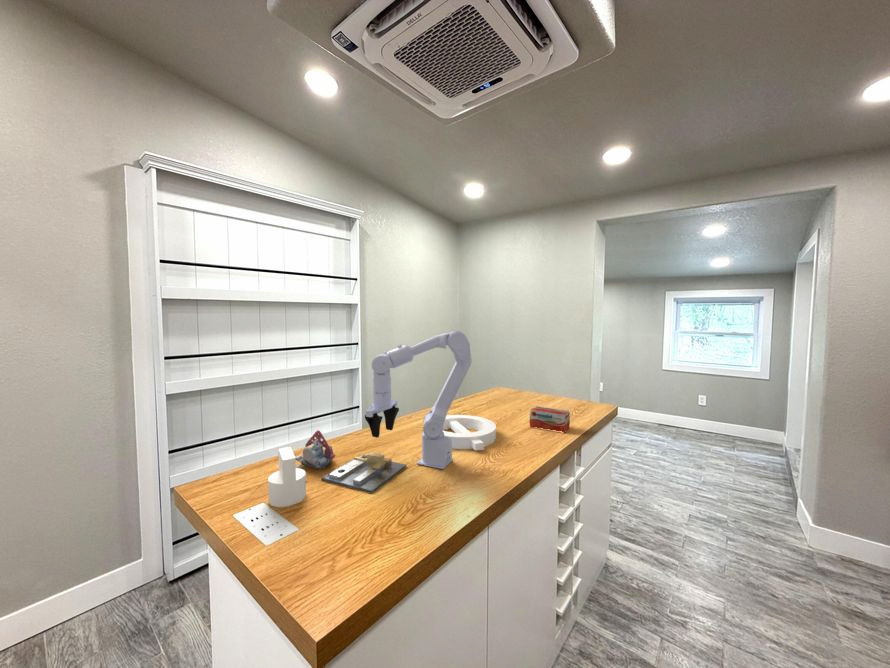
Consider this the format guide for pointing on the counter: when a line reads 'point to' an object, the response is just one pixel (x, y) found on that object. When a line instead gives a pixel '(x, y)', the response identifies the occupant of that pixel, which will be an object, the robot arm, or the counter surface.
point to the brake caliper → (316, 452)
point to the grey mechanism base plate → (363, 474)
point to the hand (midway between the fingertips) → (382, 433)
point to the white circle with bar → (464, 436)
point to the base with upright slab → (287, 481)
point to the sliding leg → (373, 460)
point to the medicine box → (549, 418)
